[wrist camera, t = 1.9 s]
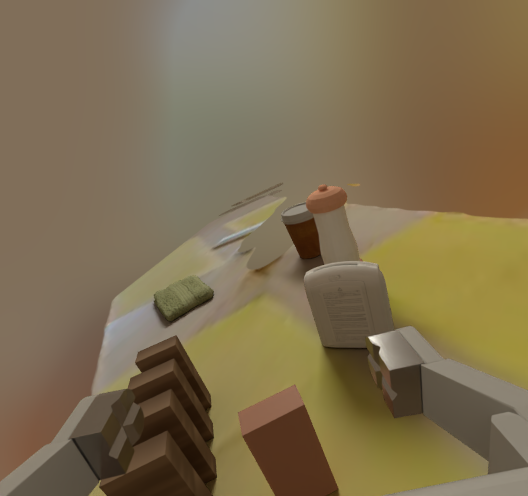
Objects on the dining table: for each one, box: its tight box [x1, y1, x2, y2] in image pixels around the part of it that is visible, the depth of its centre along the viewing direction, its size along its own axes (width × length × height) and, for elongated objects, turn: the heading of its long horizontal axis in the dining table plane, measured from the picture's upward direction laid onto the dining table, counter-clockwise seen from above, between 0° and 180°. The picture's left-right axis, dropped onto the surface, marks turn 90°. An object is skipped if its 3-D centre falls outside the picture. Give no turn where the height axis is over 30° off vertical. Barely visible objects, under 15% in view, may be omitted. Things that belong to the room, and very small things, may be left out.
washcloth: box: [154, 275, 214, 321], centre depth 70 cm, size 13×18×3 cm
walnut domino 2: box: [128, 359, 214, 442], centre depth 32 cm, size 2×5×11 cm, turn 105°
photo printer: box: [304, 261, 394, 348], centre depth 37 cm, size 10×4×12 cm, turn 70°
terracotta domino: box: [238, 385, 338, 496], centre depth 23 cm, size 2×5×11 cm, turn 105°
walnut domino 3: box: [133, 389, 217, 484], centre depth 27 cm, size 2×5×11 cm, turn 105°
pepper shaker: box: [306, 185, 363, 265], centre depth 50 cm, size 7×7×19 cm
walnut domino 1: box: [135, 335, 211, 409], centre depth 36 cm, size 2×5×11 cm, turn 105°
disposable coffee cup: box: [281, 202, 321, 259], centre depth 67 cm, size 10×10×12 cm
